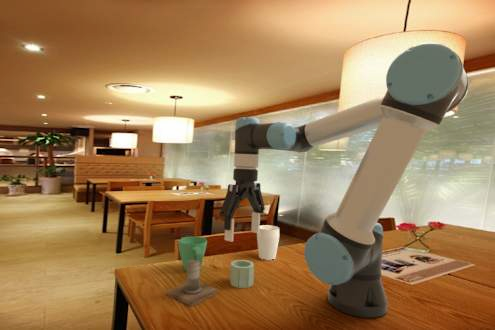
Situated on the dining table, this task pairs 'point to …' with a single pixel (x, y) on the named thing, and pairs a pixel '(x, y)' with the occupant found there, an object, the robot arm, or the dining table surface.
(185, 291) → the shaft block
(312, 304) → the dining table surface
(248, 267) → the pale green hollow tube
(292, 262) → the dining table surface
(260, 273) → the dining table surface
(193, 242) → the mug
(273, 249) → the cup
